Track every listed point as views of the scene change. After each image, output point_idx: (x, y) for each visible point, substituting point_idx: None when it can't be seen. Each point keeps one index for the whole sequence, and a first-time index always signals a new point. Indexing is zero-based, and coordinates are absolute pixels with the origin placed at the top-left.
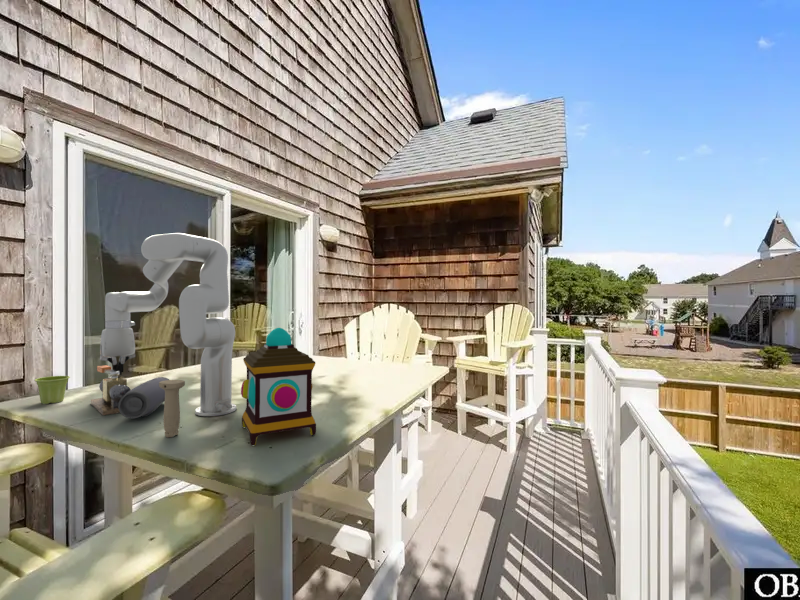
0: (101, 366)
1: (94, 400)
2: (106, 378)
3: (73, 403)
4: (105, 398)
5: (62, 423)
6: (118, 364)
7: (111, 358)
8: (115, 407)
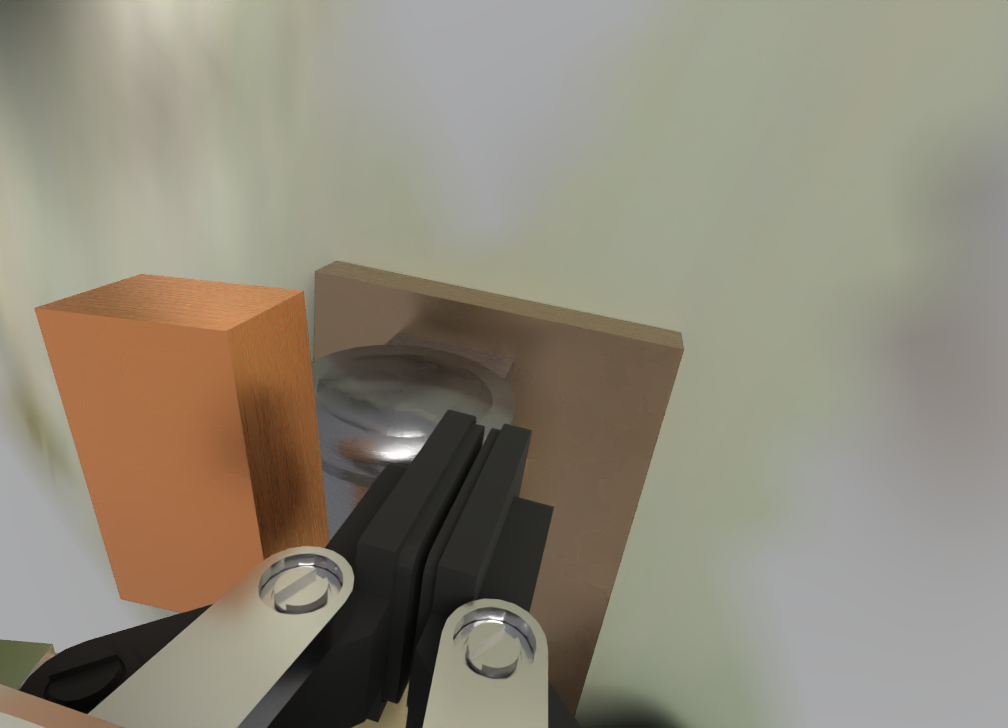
0: (116, 430)
1: (330, 343)
2: (325, 456)
3: (222, 87)
4: None
5: (150, 611)
6: (414, 653)
7: (152, 718)
8: None
